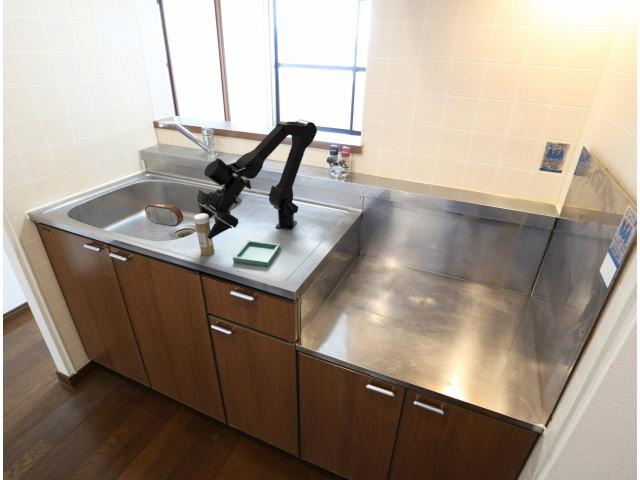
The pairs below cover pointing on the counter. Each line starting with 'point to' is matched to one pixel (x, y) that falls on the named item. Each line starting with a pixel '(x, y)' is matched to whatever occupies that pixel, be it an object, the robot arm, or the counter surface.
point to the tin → (164, 214)
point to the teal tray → (257, 253)
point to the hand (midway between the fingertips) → (202, 233)
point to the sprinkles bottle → (204, 233)
